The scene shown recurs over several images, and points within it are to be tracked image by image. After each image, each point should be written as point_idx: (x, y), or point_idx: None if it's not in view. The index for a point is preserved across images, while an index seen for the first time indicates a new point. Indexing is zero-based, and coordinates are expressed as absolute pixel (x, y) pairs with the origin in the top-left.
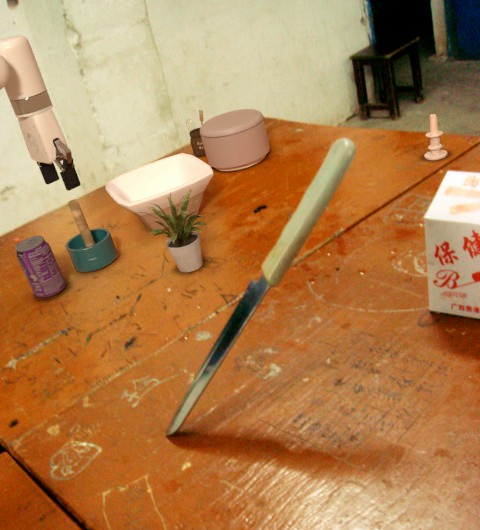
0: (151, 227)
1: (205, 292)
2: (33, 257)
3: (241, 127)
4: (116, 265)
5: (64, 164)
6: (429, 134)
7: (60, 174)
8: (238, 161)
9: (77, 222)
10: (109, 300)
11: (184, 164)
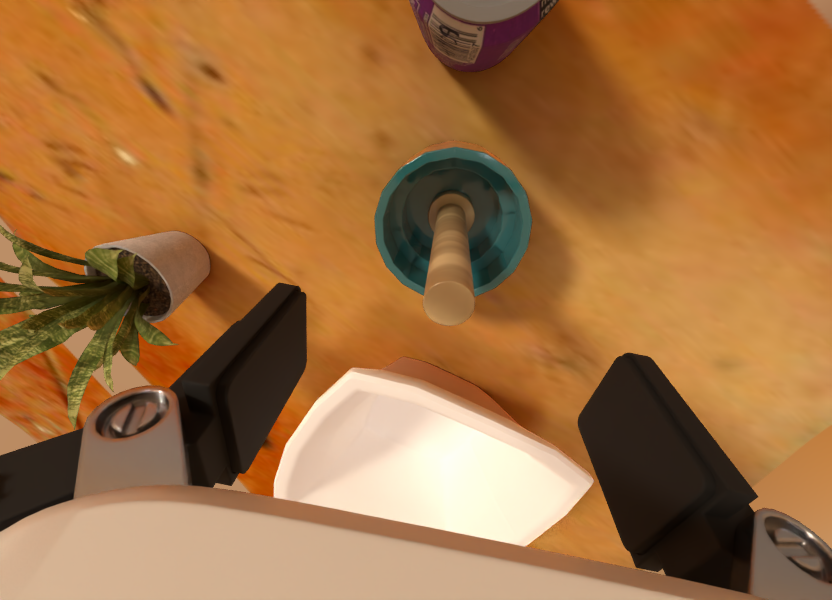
0: (400, 360)
1: (45, 175)
2: None
3: None
4: (374, 212)
5: (18, 479)
6: None
7: (220, 368)
8: None
9: (445, 243)
10: (218, 46)
11: None
